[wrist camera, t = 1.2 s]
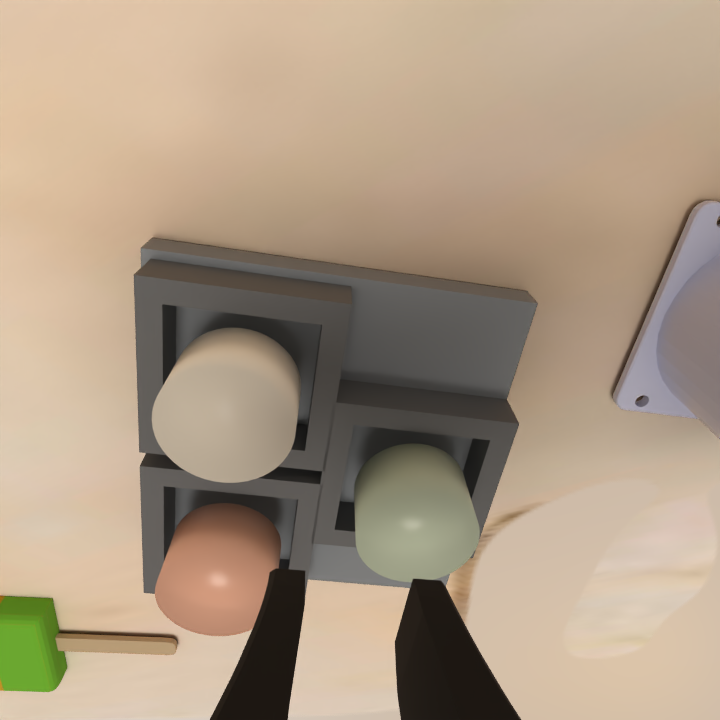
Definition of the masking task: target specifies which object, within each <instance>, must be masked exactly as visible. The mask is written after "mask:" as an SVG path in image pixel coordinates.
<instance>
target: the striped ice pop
mask: <svg viewBox="0 0 720 720" xmlns="http://www.w3.org/2000/svg"><path fill="white" fill-rule="evenodd" d="M176 649H177V641H176V640H175V639H173V638H163V637H138V636H113V635H87V634H62V633H60V631H59V627H58V622H57V618H56V613H55V608H54V604H53V599H52V598H34V597H12V596H0V690H3V691H34V692H50V691H53V690H55V689H56V688H57V687H58V685H59V684H60V682H61V680H62V678H63V676H64V674H65V671H66V669H67V663H66V659H65V654H64V651H74V652H101V653H128V654H155V655H172V654H174V653H175V652H176Z"/></svg>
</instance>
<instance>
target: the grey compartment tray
mask: <svg viewBox="0 0 720 720" xmlns="http://www.w3.org/2000/svg"><path fill="white" fill-rule="evenodd" d="M134 295H135V327H136V359H137V391H138V423H139V452H142V453H146V455H145V457H144V459H143V461H142V463H141V465H140V486H141V518H142V550H143V582H144V593H152V594H155V586H156V583H157V580H158V577H159V574H160V572H161V569H162V566H163V563H164V560H165V558H166V555H167V552H168V549H169V547H170V544H171V541H172V538H173V536H174V533H175V530H176V528H177V526H178V524H179V522H180V521H181V520H182V519H183V518H184V517H185V516H186V515H187V514H188V513H190V512H191V511H193V510H195V509H197V508H199V507H202V506H205V505H209V504H216V503H232V504H238V505H242V506H246V507H249V508H251V509H254V510H256V511H258V512H259V513H261V514H263V515H264V516H265V517H267V518H268V519H269V520H270V521H271V522H272V523H273V524H274V526H275V527H276V529H277V531H278V532H279V535H280V538H281V553H280V561H279V569H291V570H305V593H306V587H307V581H308V579H310V580H322V581H334V582H346V583H357V584H369V585H381V586H393V587H405V588H410V587H411V583H412V582H402V581H396V580H392V579H389V578H386V577H383V576H381V575H379V574H377V573H376V572H374V571H373V570H371V569H370V568H369V567H368V566H367V565H366V564H365V563H364V562H363V561H362V559H361V557H360V556H359V553H358V551H357V547H356V537H355V506H354V484H355V480H356V477H357V475H358V472H359V471H360V469H361V468H362V466H363V465H364V464H365V463H366V462H367V461H368V460H369V459H370V458H371V457H373V456H374V455H375V454H377V453H379V452H381V451H382V450H385V449H387V448H390V447H393V446H396V445H402V444H412V443H414V444H425V445H430V446H433V447H436V448H438V449H441V450H443V451H444V452H446V453H448V454H449V455H450V456H451V457H453V458H454V459H455V460H456V462H457V463H458V464H459V466H460V467H461V470H462V472H463V475H464V478H465V481H466V485H467V488H468V491H469V494H470V498H471V501H472V504H473V507H474V511H475V514H476V517H477V520H478V524H479V530H480V536H481V533H482V530H483V527H484V524H485V521H486V518H487V515H488V512H489V510H490V507H491V504H492V501H493V498H494V495H495V492H496V489H497V486H498V484H499V481H500V478H501V475H502V472H503V469H504V466H505V463H506V460H507V458H508V455H509V452H510V449H511V446H512V443H513V440H514V437H515V434H516V431H517V429H518V426H519V423H518V421H517V419H516V417H515V415H514V413H513V411H512V409H511V407H510V405H509V403H508V401H507V397H508V394H509V390H510V387H511V384H512V381H513V378H514V375H515V372H516V369H517V366H518V363H519V360H520V357H521V354H522V351H523V347H524V344H525V341H526V338H527V335H528V332H529V329H530V326H531V323H532V320H533V317H534V314H535V311H536V307H537V304H538V303H537V302H536V301H535V300H534V299H533V297H532V296H531V295H530V294H529V293H528V292H527V291H523V290H516V289H509V288H502V287H495V286H488V285H480V284H473V283H466V282H459V281H452V280H445V279H438V278H431V277H424V276H417V275H410V274H403V273H396V272H389V271H382V270H375V269H368V268H361V267H354V266H347V265H340V264H333V263H326V262H319V261H312V260H305V259H298V258H291V257H284V256H277V255H270V254H263V253H256V252H248V251H241V250H234V249H227V248H220V247H213V246H206V245H199V244H192V243H185V242H178V241H171V240H164V239H157V238H152V239H150V240H149V241H148V242H147V243H146V244H145V245H144V246H142V247H141V268H140V269H139V270H138V271H137V272H136V273H135V274H134ZM233 327H234V328H244V329H250V330H253V331H257V332H260V333H262V334H264V335H266V336H268V337H270V338H272V339H273V340H275V341H276V342H277V343H279V344H280V345H281V346H282V347H283V348H284V349H285V350H286V351H287V352H288V353H289V354H290V356H291V357H292V359H293V360H294V362H295V364H296V366H297V368H298V371H299V375H300V379H301V394H300V402H299V410H298V418H297V426H296V434H295V439H294V443H293V446H292V448H291V451H290V452H289V454H288V456H287V457H286V458H285V460H284V461H283V462H282V463H281V464H280V465H279V466H278V467H277V468H275V469H274V470H273V471H271V472H270V473H268V474H266V475H264V476H262V477H259V478H257V479H253V480H250V481H245V482H238V483H223V482H215V481H210V480H206V479H203V478H200V477H197V476H195V475H193V474H191V473H189V472H187V471H185V470H184V469H182V468H180V467H179V466H178V465H176V464H175V463H174V462H173V461H172V460H171V459H170V458H169V457H168V456H167V455H166V454H165V453H164V451H163V450H162V449H161V447H160V445H159V444H158V442H157V440H156V437H155V435H154V431H153V427H152V410H153V406H154V402H155V400H156V398H157V396H158V394H159V392H160V390H161V389H162V387H163V385H164V383H165V382H166V380H167V378H168V376H169V374H170V373H171V371H172V369H173V367H174V366H175V364H176V362H177V360H178V359H179V357H180V355H181V354H182V352H183V350H184V349H185V348H186V347H187V346H188V345H189V344H190V343H191V342H192V341H193V340H194V339H196V338H197V337H199V336H201V335H203V334H205V333H207V332H209V331H213V330H216V329H221V328H233ZM480 536H479V539H480ZM475 550H476V549H475ZM474 553H475V551H474ZM474 553H473V554H472V556H471V557H470V558H473V556H474ZM449 575H450V574H448V575H446V576H443V577H440V578H438V579H434V580H441V581H442V582H443V583H444V585H445V587H446V584H447V581H448V578H449Z"/></svg>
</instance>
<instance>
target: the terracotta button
mask: <svg viewBox="0 0 720 720" xmlns="http://www.w3.org/2000/svg"><path fill="white" fill-rule="evenodd" d="M280 553H281V538H280V535H279V532H278V531H277V529H276V527H275V526H274V524H273V523H272V522H271V521H270V520H269V519H268V518H267V517H265V516H264V515H263V514H261V513H259V512H258V511H256V510H254V509H251V508H249V507H246V506H242V505H238V504H232V503H216V504H209V505H205V506H202V507H199V508H197V509H195V510H193V511H191V512H190V513H188V514H187V515H186V516H185V517H184V518H183V519H182V520H181V521H180V522H179V524H178V526H177V528H176V530H175V533H174V536H173V538H172V541H171V544H170V547H169V549H168V552H167V555H166V558H165V560H164V563H163V566H162V569H161V572H160V574H159V577H158V580H157V583H156V586H155V598H156V601H157V604H158V606H159V608H160V609H161V611H162V612H163V613H164V614H165V615H166V616H167V618H169V619H170V620H171V621H172V622H174V623H175V624H177V625H178V626H180V627H182V628H184V629H187V630H189V631H192V632H195V633H199V634H204V635H211V636H229V635H235V634H240V633H243V632H246V631H249V630H251V629H253V627H254V624H255V622H256V619H257V616H258V614H259V611H260V608H261V605H262V602H263V599H264V595H265V592H266V588H267V584H268V579H269V573H270V572H271V571H272V570H274V569H276V568H277V569H279V561H280Z"/></svg>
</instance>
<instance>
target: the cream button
mask: <svg viewBox="0 0 720 720" xmlns="http://www.w3.org/2000/svg"><path fill="white" fill-rule="evenodd" d="M300 394H301V379H300V375H299V371H298V368H297V366H296V364H295V362H294V360H293V359H292V357H291V356H290V354H289V353H288V352H287V351H286V350H285V349H284V348H283V347H282V346H281V345H280V344H279V343H277V342H276V341H275V340H273V339H272V338H270V337H268V336H266V335H264V334H262V333H260V332H257V331H253V330H250V329H244V328H234V327H233V328H221V329H216V330H213V331H209V332H207V333H205V334H203V335H201V336H199V337H197V338H196V339H194V340H193V341H192V342H191V343H190V344H189V345H188V346H187V347H186V348H185V349H184V350H183V352H182V354H181V355H180V357H179V359H178V360H177V362H176V364H175V366H174V367H173V369H172V371H171V373H170V374H169V376H168V378H167V380H166V382H165V383H164V385H163V387H162V389H161V390H160V392H159V394H158V396H157V398H156V400H155V402H154V406H153V410H152V427H153V431H154V435H155V437H156V440H157V442H158V444H159V445H160V447H161V449H162V450H163V451H164V453H165V454H166V455H167V456H168V457H169V458H170V459H171V460H172V461H173V462H174V463H175V464H176V465H178V466H179V467H180V468H182V469H184V470H185V471H187V472H189V473H191V474H193V475H195V476H197V477H200V478H203V479H206V480H210V481H215V482H223V483H238V482H245V481H250V480H253V479H257V478H259V477H262V476H264V475H266V474H268V473H270V472H271V471H273V470H274V469H275V468H277V467H278V466H279V465H280V464H281V463H282V462H283V461H284V460H285V458H286V457H287V456H288V454H289V452H290V451H291V448H292V446H293V443H294V439H295V434H296V426H297V418H298V410H299V402H300Z"/></svg>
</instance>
